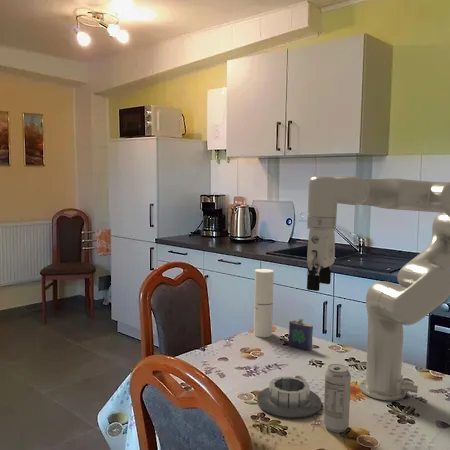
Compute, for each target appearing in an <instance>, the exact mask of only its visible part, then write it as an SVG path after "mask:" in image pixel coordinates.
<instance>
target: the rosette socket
mask: <svg viewBox="0 0 450 450" xmlns="http://www.w3.org/2000/svg"><path fill="white" fill-rule="evenodd" d="M310 386H311V385H310V384H309V383H308V382H307V381H306V380H304V379H302V378H300V377H295V376H279V377H276V378H275V377H274V378H273V379H271V380H270V382H269V387H265V388H263V389H262V390H261V391H260V392H258V394H257V397H256V399H257V401H256V402H257V403H256V404H257V406H258V407H259V409H260V410H262V411H263V412H265V413H266V414H268V415H270V416H272V417H277V418H280V419H286V420H301V419H306V418H307V419H308V418H310V417H313V416H315V415H317V414H318V413H320V411H321V409H322V399H321V398H320V396H319V395H318V394H316V393H315V392H314V391H312V390H310V388H311V387H310Z"/></svg>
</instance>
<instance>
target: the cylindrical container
mask: <svg viewBox="0 0 450 450" xmlns="http://www.w3.org/2000/svg"><path fill="white" fill-rule="evenodd" d="M274 273H275V271H274V270H273V269H269V268H259V269H258V268H256V269H254V290H253V291H254V294H253V295H254V296H253V298H254V300H253V336H255V337H257V338H269V337H271V336H273V316H274V315H273V310H274V309H273V308H274V307H273V304H274V303H273V302H274Z"/></svg>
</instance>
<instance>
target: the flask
mask: <svg viewBox="0 0 450 450" xmlns="http://www.w3.org/2000/svg"><path fill="white" fill-rule="evenodd" d="M297 319H298V320H296V319H294V320H290V321H289V328H288V346H289V347H291V348H293V349H298V350H302V351H306V352H307V351H308V352H312V350H313V334H314V333H313V332H314V331H313V330H314V327H313V324H309V323H303V321H304V319H303V318H297Z"/></svg>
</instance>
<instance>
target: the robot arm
mask: <svg viewBox="0 0 450 450" xmlns="http://www.w3.org/2000/svg"><path fill="white" fill-rule="evenodd" d="M307 202H308V203H307V223H306V225H307V226H306V229H309V232H308V240H307V241H308V242H307V243H308V244H307V255H306V258H307V260H306V261H307V263H306V264H307V272H306V276H307V277H306V289H307V291H315V292H319V291H320V284H324V285H330V284H331V280H332V279H331V277H332V276H331V275H332V270H331V269H332V265H333V264H334V263H335V260H336V257H335V256H336V249H335V248H336V247H335V246H336V238H335V235H336V234H335V230H337V214H338V204H342V205H351V206H360V205H361V206H370V207H376V208H379V209H387V210H394V211H395V210H396V211H397V210H399V211H409V212H410V211H412V212H413V211H414V212H424V213H425V212H426V213H427V212H428V213H438V214H437V215H436V216H435V217H434V219H433V222H432V227H431V230H432V231H431V232H432V233H431V239H430V243H429V244H428V246H427V247H426V248H425V249H424V250H422V251H421V252H420V253H419V254H417V255H416V256H414V258H412V259H411V260H410V261H408V262H407V263H406V264H404V265H403V266H402V267H401V268H400V270H399V271H398V273H397V282H398V283H399V284H396V283H394V282H391V281H386V280H383V281H382V280H381V281H377V282H374V283H372V284H371V286H370V287H369V288H368V290H367V292H366V295H365V304H366V305H365V307H366V312H367V345H366V346H367V347H366V363H365V364H366V366H365V368H366V369H365V371H366V372H365V379H364V380H361V382H359V390H360V391H361V392H362V393H363V394H364V395H366V396H368V397H370V398H373V399H376V400H380V401H381V400H382V401H388V402H389V401H391V402H393V401H399V400H402V399H404V398H405V397H406V396H407V392H410V393H416V394H418V391H419V390H418V388H419V387H418V386H419V385H415V384H414V382H412V381H406V380H405V379H404V375H402V366H403V347H404V345H403V344H404V326H412V325H414V324H417V323H419V322H421V320H422V319H424V318H425V317H426V316H428V315H429V314H430V313H431V312H433V311H434V310H435V309H436V308H438V307H439V306H440V305H441V304H443V302H445V301H446V300H447V299H448V298H449V297H450V181H449V182H446V181H445V182H444V181H429V180H428V181H427V180H426V181H425V180H416V179H415V180H414V179H406V178H405V179H404V178H392V177H391V178H363V177H359V176H355V175H354V176H351V175H350V176H349V175H348V176H339V175H338V176H313V177H311V178H310V179H309V181H308V201H307Z"/></svg>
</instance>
